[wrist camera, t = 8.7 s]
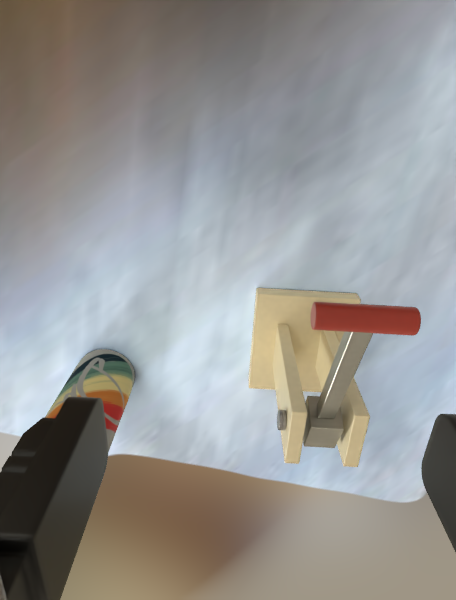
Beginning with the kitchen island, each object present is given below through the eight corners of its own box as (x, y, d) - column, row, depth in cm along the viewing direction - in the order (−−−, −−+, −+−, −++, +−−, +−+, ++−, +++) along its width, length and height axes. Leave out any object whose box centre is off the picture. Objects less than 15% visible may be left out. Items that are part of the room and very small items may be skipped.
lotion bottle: (129, 345, 41) (41, 539, 23) (141, 393, 43) (69, 604, 25) (72, 349, 41) (-60, 544, 23) (86, 397, 44) (-23, 607, 25)
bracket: (256, 287, 38) (264, 373, 26) (357, 293, 38) (412, 381, 26) (248, 379, 42) (252, 491, 30) (339, 385, 42) (379, 498, 30)
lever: (313, 288, 22) (318, 324, 20) (413, 294, 22) (426, 330, 20) (280, 414, 32) (282, 445, 30) (350, 418, 32) (356, 449, 30)
